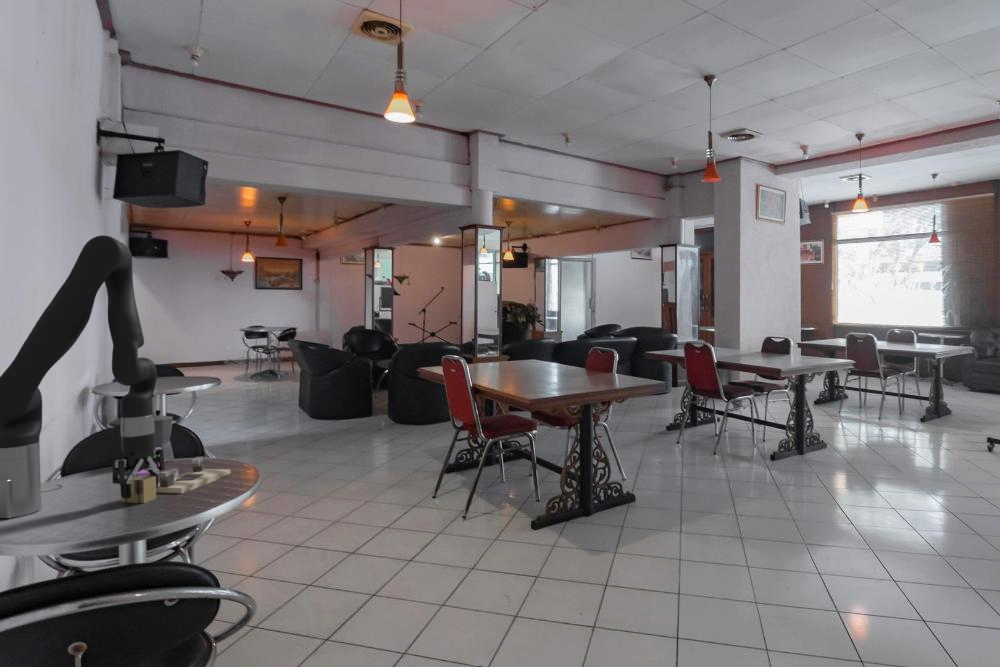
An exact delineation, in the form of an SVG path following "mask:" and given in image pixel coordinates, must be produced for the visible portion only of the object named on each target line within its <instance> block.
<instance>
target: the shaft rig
mask: <svg viewBox="0 0 1000 667" xmlns="http://www.w3.org/2000/svg"><path fill="white" fill-rule="evenodd" d="M204 464H205V461H204V456H195V457H194V458H192V459H191V467H192V470H189V471H186V472H184V473H180V474H179V469H178V468H171V469H168V470H163V471H162V472H161V471H160V472H159V481H158V487H157V488H156V494H159V493H160V494H161V493H162V494H163V493H164V494H185V493H186V492H190V491H192V490H194V489H197V488H199V487H202V486H205V485H207V484H211V483H213V482H215V481H217V479H218V480H220V479H222V478H221V477H223V476H226V475H228V474H230V473H232V472H231V471H232V470H231V469H220V468H219V469H218V468H205V465H204ZM228 476H229V475H228ZM226 477H227V476H226ZM219 478H220V479H219ZM223 478H224V477H223ZM212 481H213V482H212Z"/></svg>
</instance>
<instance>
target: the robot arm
mask: <svg viewBox="0 0 1000 667" xmlns="http://www.w3.org/2000/svg"><path fill="white" fill-rule="evenodd" d="M133 275H134V274H133V256H132V252H131V250H130V248H129V247H128V246H127V245H126V244H124V243H122V242H121V241H119V240H118V239H116V238H114V237H112V236H109V235H97V236H95V237H92V238H91V239H89V240H88V241H87V242H86V243H85V244H84V245H83V247H82V249H81V251H80V253H79V255H78V257H77V259H76V261H75V263H74V265H73V267H72V269H71V271H70V273H69V275H68V276H67V278H66V279H65V281H64V282H63V283H62V285H61V286H60V288H59V289H58V291H56V292H57V293H55V295H54V297H53V298H52V299H51V301H50V302H49V304H48V305H47V307H46V308H45V309H44V311H43V312H42V313H41V315H40V317H39V318H38V320H37V322H36V323H35V325H34V326H33V328H32V330H30V332H29V334H28V336H27V338H26V339H25V340H24V342H23V344H22V346H21V347H20V349H19V351H18V353H17V354H16V356H15V357H14V359H13V360H12V361H11V363H10V364H9V365H8V367H7V368H6V369H5V370H4V372H3V373H2V374H1V376H0V518H9V519H12V517H13V518H16V517H23V516H27V515H31V514H33V513H36V512H38V511H40V510H42V485H41V484H42V482H41V454H40V453H41V447H40V444H41V443H40V441H41V439H40V435H41V432H42V429H43V428H42V427H43V397H42V392H41V390H40V388H39V386H40V385H41V383H42V381H43V380H44V378H45V376H46V374H47V373H48V372H49V371H50V370H51V368H53V366H55V365H56V364H57V362H58V361H60V359H62V358H63V357H64V356H65V354H67V352H69V350H71V349H72V347H73V346H74V345H75V343H76V342H77V341H78V339H79V338H80V337H81V335H82V333H83V331H84V330H85V328H86V327H87V325H88V323H89V320H90V319H91V316H92V313H93V312H92V311H93V309H94V305H95V300H96V298H97V294H98V292H99V290H100V289H101V287H102V285H103V284H104V283H105V284H104V286H105V288H106V293H107V323H108V328H109V334H110V338H111V341H112V351H111V352H112V353H111V354H112V355H111V372H112V373H111V374H112V375H113V378H114V379H115V380H116V381H117V382H118V383H119V385H122V386H127V387H128V386H129V389H128V390H129V391H128V392H127V393H126V394H125V395H124V396H122V397H121V400H120V413H121V414H120V415H121V418H120V419H121V420H120V444H121V445H120V446H121V452H122V453H123V455H124V456H123V458H122V459H115V460H113V461H112V479H111V480H112V484H115V485H120V487H119V488H120V497H122V498H124V499H128V498H131V484H130V482H131V480H132V478H133V477H134V476H137V472H140V471H141V470H146V471H147V472H148V473H149V474H150V475H148V476H156V488H157V487H158V482H159V475H160V473H161V471H165V463H164V455H163V450H162V449H154V448H155V429H154V419H153V416H154V415H153V396H154V393H155V389H156V383H157V378H158V377H157V376H158V371H157V367H156V365H155V362H154V361H153V360H152V359H149V358H148V357H139V355H138V354H139V351H138V350H139V349H140V348H141V347H143V346H144V344H145V338H144V334H143V329H142V325H141V320H140V316H139V311H138V307H137V302H136V297H135V290H134V289H135V288H134V279H133V278H134V277H133ZM152 459H153V460H152ZM158 462H159V465H160V466H158ZM126 478H127V479H126Z"/></svg>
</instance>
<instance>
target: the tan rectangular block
mask: <svg viewBox="0 0 1000 667" xmlns="http://www.w3.org/2000/svg"><path fill="white" fill-rule="evenodd" d="M126 479H127V477H126ZM130 484H131V498H128V499H124V498H122V497H121V496H120V497H121V498H120V500H121V503H124V504H125V503H130V504H133V503H134V504H146V503H148V502H150V501H154V500H156V499H157V492H156V476H140V475H137V474H136V475H135V476H134V477H133V478H132V480H131V482H130Z"/></svg>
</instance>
